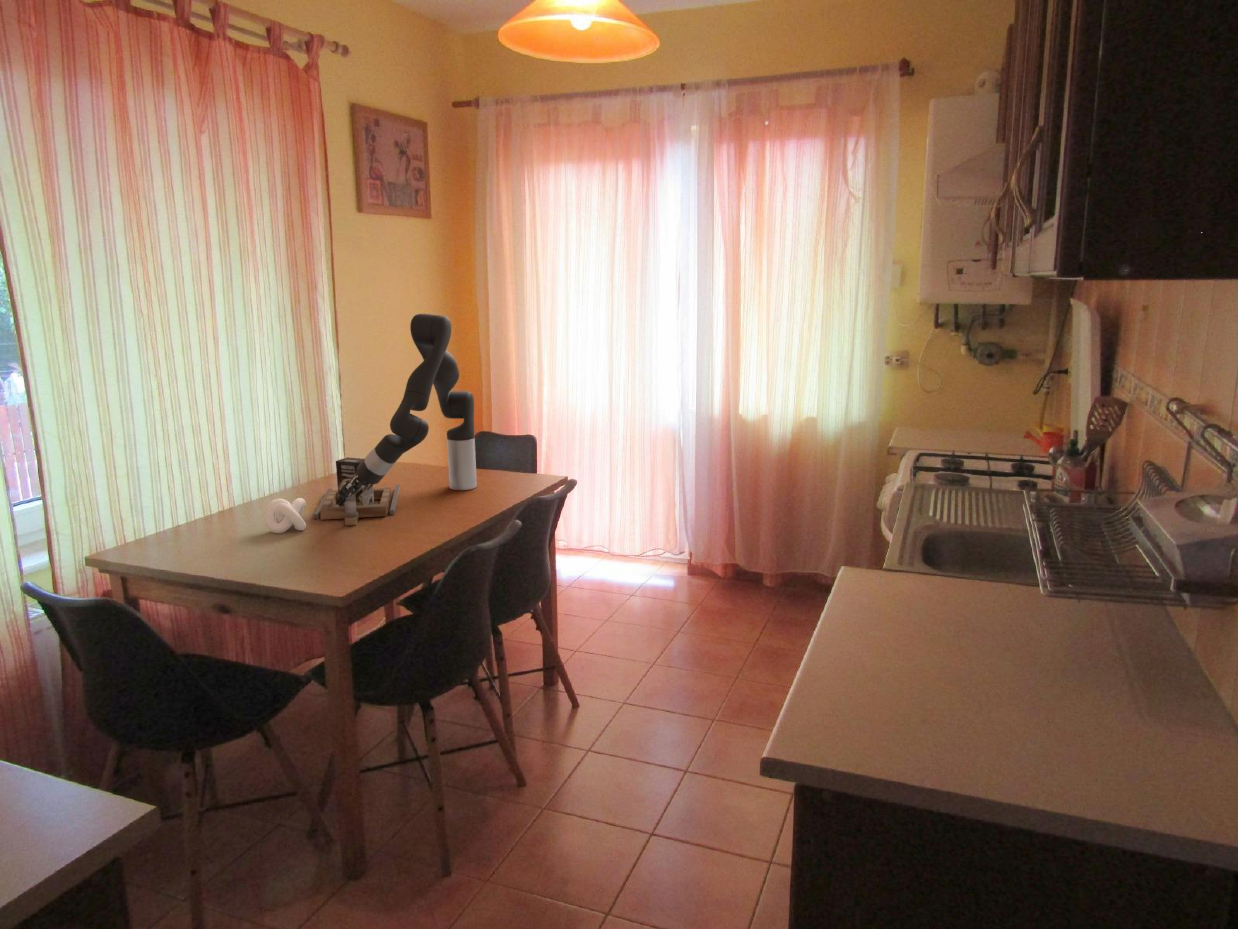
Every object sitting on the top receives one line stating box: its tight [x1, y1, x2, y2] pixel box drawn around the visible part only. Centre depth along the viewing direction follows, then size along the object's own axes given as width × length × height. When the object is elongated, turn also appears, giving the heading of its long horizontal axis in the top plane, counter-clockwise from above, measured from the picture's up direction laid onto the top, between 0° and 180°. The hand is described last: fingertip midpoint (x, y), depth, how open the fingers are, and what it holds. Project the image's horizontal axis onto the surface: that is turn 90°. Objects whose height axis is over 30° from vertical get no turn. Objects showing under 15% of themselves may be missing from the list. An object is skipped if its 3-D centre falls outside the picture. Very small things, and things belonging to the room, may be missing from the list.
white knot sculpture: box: [263, 497, 307, 534], centre depth 248 cm, size 11×12×9 cm
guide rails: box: [313, 484, 401, 520], centre depth 277 cm, size 32×23×2 cm
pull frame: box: [320, 483, 392, 526], centre depth 266 cm, size 32×19×12 cm, turn 11°
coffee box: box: [335, 457, 375, 506], centre depth 268 cm, size 9×6×16 cm
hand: (345, 501), depth 254 cm, fingers open, 6 cm apart
